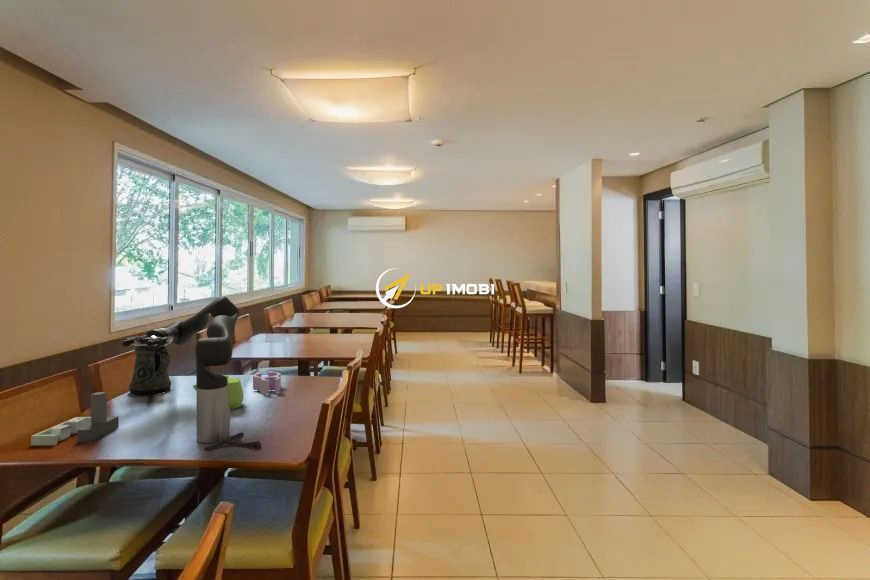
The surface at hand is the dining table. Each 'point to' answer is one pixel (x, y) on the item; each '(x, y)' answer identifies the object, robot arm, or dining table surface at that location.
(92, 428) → the gray t-shaped block
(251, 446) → the bracket
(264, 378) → the clip
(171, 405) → the dining table surface
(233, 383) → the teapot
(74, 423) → the beige cube
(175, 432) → the dining table surface
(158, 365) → the beer stein
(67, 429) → the grey cube block
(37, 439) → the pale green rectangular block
